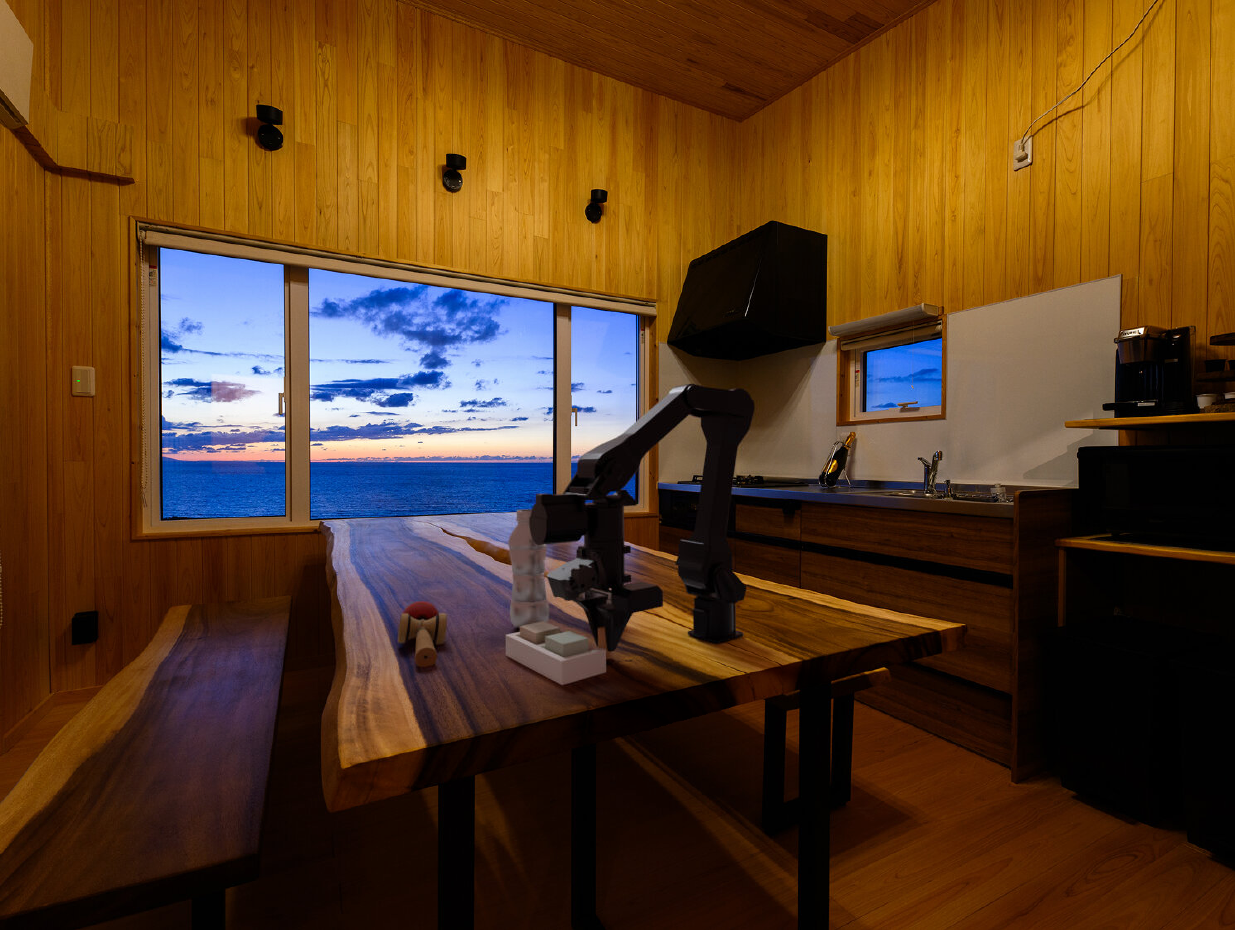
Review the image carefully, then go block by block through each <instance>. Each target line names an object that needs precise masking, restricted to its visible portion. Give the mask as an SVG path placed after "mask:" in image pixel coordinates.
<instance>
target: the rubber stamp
mask: <svg viewBox="0 0 1235 930" xmlns="http://www.w3.org/2000/svg"><path fill="white" fill-rule="evenodd" d="M599 648H603V649H605V650H606V660H609V659H613V658H614V657H615V655H614V652H615V651H612V652H609V651H608V650H607V644H606V635H605V626H602V627H599V628H598V647H597V649H599ZM545 649H546V650H548V651H550V652H553V653H555V654H557V655H559V656H561V657H563V658H565V657H568V656H572V655H576V654H580V653H584V652H588V651H589V637H586V636H584V635H581V634H578V633H576V632H573V631H571V630H568V631H564V632H560V633H558V634H554V635H549V636H545Z"/></svg>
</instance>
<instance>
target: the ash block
mask: <svg viewBox="0 0 1235 930" xmlns="http://www.w3.org/2000/svg"><path fill="white" fill-rule="evenodd" d="M519 632H520V638H522V639H524V640H527V641H529V642H531V643H533V644H535V645H537V644H542V643H545V636H549V635H554V634H558V633H561V627H560V626H556V625H554V624H551V623H549V622H548V621H547V622H544V621H542V622H537V623H533V624H528V625H523V626H520V628H519Z"/></svg>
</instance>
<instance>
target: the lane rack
mask: <svg viewBox="0 0 1235 930" xmlns="http://www.w3.org/2000/svg"><path fill="white" fill-rule="evenodd" d="M505 656H506V657H508V658H510V659H512V660H513V661H515V662H518V663H519V664H521V665H523V666H524V667H527V668H528V669H531V670H532V671H534V672H536V673H538V674H540V675H542V676H544V677H546V678H547V679H549V680H551V681H553V682H555V683H558V684H559V685H561V686H564V685H567V684H571V683H575V682H578V681H580V680H584V679H585V680H586V679H588V678H591V677H594V676H598V675H601V674H605V673H607V659H606V650H605V649H603V648H599V649H598V648H596V649H593V650H588V652H584V653H580V654H576V655H572V656H568V657H565V658H563V657H561V656H559V655H557V654H555V653H553V652H550V651H548V650H546V649H545V643H542V644H537V645H535V644H533V643H531V642H529V641H527V640H524V639H522V638H520V631H518V632H513V633H508V634H505Z"/></svg>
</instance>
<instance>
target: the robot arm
mask: <svg viewBox="0 0 1235 930" xmlns="http://www.w3.org/2000/svg"><path fill="white" fill-rule="evenodd" d="M755 407H756V406H755V400H754V399H752V397H751V395H750V393H749V392H748V391H747V390H745V389H744V388H739V387H738V388H733V389H726V388H725V389H724V388H716V387H715V388H714V387H708V386H705V385H704V386H702V385H701V384H696V383H687V384H682V385H678V386H677V385H676V386H675V387H673V388H672V389H670V391H669V392H668V394H667V395H666V396H664V397H663V398H661V400H660V401H659V402H657V403H656V404H654V406H653V407H651V409H649V410H648V411H646V413H645V414H643V416H641V417H640V418H639V419H638V420H637V421H635V422H634V423H633V424H632V425H631V426H630V427H628V428H627V429H626V430H625V431H624V432H623V433H621V434H620V435H618V436H617V437H614V438H612V439H609V440H607V441H605V442H603V443H601V444H599V445H597V446H595V447H593V448H591V449H590V450H589V451H587V452H585V453H584V454H582V455H581V456H580V458H579V459H578V461H577V464H576V465H577V467H576V471H575V474H574V475H573V477H572V478H571V480H569V481H570V482H569V483H568V484H567V486H566V487H565V489H564V491H563V492H562V494H561V493H559V494H558V493H557V494H551V493H536V494H535V503H534V504H533V506H532V508H531V509H532V512H531V517H529V527H530V533H531V536H532V539H533V541H534V542H535V543H536V544H537V545H546V544H547V545H553V544H555V545H556V544H565V543H574V542H579V541H580V540H581V538H582V537H583V545H579V546H577V548H576V558H575V559H572V560H570V561H568V562H565V563H563V564H562V565H561V566H559V567H556V568H555V569H553V570H551V571H549V573H547V574H546V579H547V580H548V585H549V587H550V589H551V593H552V595H553V597H554V598H561V599H563V600H564V601H565V602H566V601H567V602H570V601H572V602H574V603H575V604H577V605H578V606H579V607H580V608H582V610H583V611H584V614H585V616H586V619H587V621H588V624H589V627H590V630H591V633H592V637H593V639H594V642H595V646H596V647H597V648H598V628H599V627H602V626H605V635H606V644H607V650H608V651H609V652H612V651H614V652H615V651H616V650H617V647H618V645H619V642H620V640H621V639H622V636H623V634H624V631H625V629H626V627H627V625H628V623H629V621H630V619H631V617H632V616H633V614H634V613H639V612H645V611H649V610H652V609H657V608H662V607H664V591H663V590H662V588H661V587H660V586H659V585H657V584H652V583H648V582H643V581H639V582H633V583H631V582H632V574H630V573H629V574H628V573H626V568H625V567H626V566H625V565H626V562H625V559H626V558H625V556H626V554H631V553H632V551H631V548H632V547H631V545H628V544H625V507H634V506H637V505H638V501H637V500H636V499H635V498H634V497H633V496H632V495H630V493H629V492H628V490H627V489H624V488H625V487H626V486H627V485H628V484H629V482H630V481H631V479H633V477H634V476H635V474H636V473H637V472H638V471H639V468H640V465H641V463H642V460H643V458H644V457H645V456H646V455H647V454H648V452H649V451H651V450H652V449H653V448H654V447H655V446H656V445H657V444H658V443H660V442H661V441H662V440H663V439H664V438H665V437H666V436H667V435H669V433H670V432H672V431H673V430H674V429H675V428H676V427H677V426H678V425H679V424H681V423H682V422H683V421H684V420H685V419H686V418H687V417H688V416H690V417H693V418H698V419H700V427H701V430H702V433H703V435H704V438H705V441H706V447H705V455H704V462H703V463H704V464H703V467H702V468H703V470H702V474H701V475H702V476H701V482H700V490H699V497H698V503H697V504H698V505H697V510H696V518H695V519H696V520H695V527H694V530H693V532H692V534H691V535H690V536H689V538H688V540H686V539H680V540H679V543H678V554H677V555H678V556H677V559H676V560H675V563H674V565H675V566H677V574H678V577H679V578H680V580H681V581H682V583H683V584H684V587H685V591H686V593H687V594H688V595H692V596H696V597H694V599H693V600H694V601H693V603H694V608H692V614H693V616H692V619H693V620H692V622H693V623H692V625H693V626H692V627H693V628H692V630H691V629H690V630H688V631H687V635H688V636H691V637H694V638H698V639H701V640H703V641H706V642H711V643H714V644H720V643H723V642H726V641H730V640H731V641H732V640H734V639H737V638H741V637H743V636H744V632H742V631H740V630H737V627H736V626H737V625H736V624H737V622H736V621H737V619H736V611H737V610H736V604H737V603H738V602H740V601H741V602H742V601H744V600H745V596H746V594H747V593H746V591H747V586H746V585H745V583H744V582H743V581H742V580H741V579H740V578H739V576H737V574H736V573H735V572H734V571H733V553H732V550H731V547H730V544H729V540H728V538H727V531H728V530H727V529H728V528H727V527H728V521H729V515H730V514H729V513H730V506H731V500H732V498H731V497H732V492H733V484H734V477H735V469H736V462H737V456H738V455H737V454H738V448H739V445H740V444H741V443H742V441H743V440H744V438H745V437H746V435H748V433H749V431H750V429H751V425H752V421H753V418H754V414H755V409H756V408H755ZM611 492H615V493H613V494H610V493H611ZM586 501H592V502H586ZM627 583H628V584H627Z"/></svg>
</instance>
